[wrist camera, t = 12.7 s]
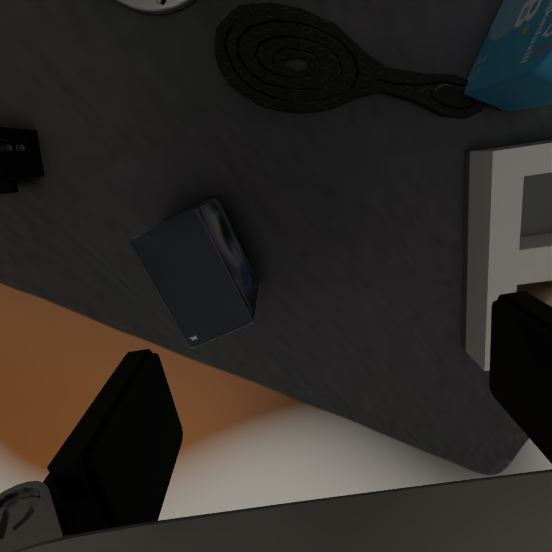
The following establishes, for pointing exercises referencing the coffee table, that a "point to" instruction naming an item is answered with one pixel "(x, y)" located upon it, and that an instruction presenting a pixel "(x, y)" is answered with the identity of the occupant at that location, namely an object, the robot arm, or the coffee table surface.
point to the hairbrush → (366, 67)
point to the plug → (538, 290)
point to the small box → (200, 272)
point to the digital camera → (18, 157)
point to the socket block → (503, 232)
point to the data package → (515, 58)
